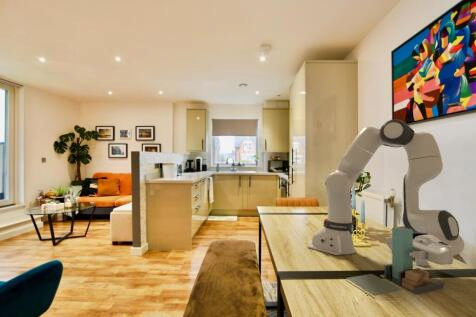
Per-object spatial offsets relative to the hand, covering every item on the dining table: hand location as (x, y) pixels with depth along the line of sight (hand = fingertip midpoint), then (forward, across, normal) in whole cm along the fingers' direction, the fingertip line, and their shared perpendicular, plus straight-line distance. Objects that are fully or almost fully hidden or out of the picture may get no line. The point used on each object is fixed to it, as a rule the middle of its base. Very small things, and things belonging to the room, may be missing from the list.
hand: (400, 250), depth 88 cm
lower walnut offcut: (0, +6, +10) cm, 12 cm away
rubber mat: (+13, 0, +11) cm, 17 cm away
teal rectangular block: (-1, 0, +10) cm, 10 cm away
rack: (-1, +3, +11) cm, 11 cm away
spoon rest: (-25, -16, +12) cm, 32 cm away
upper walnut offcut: (0, +6, +8) cm, 10 cm away
